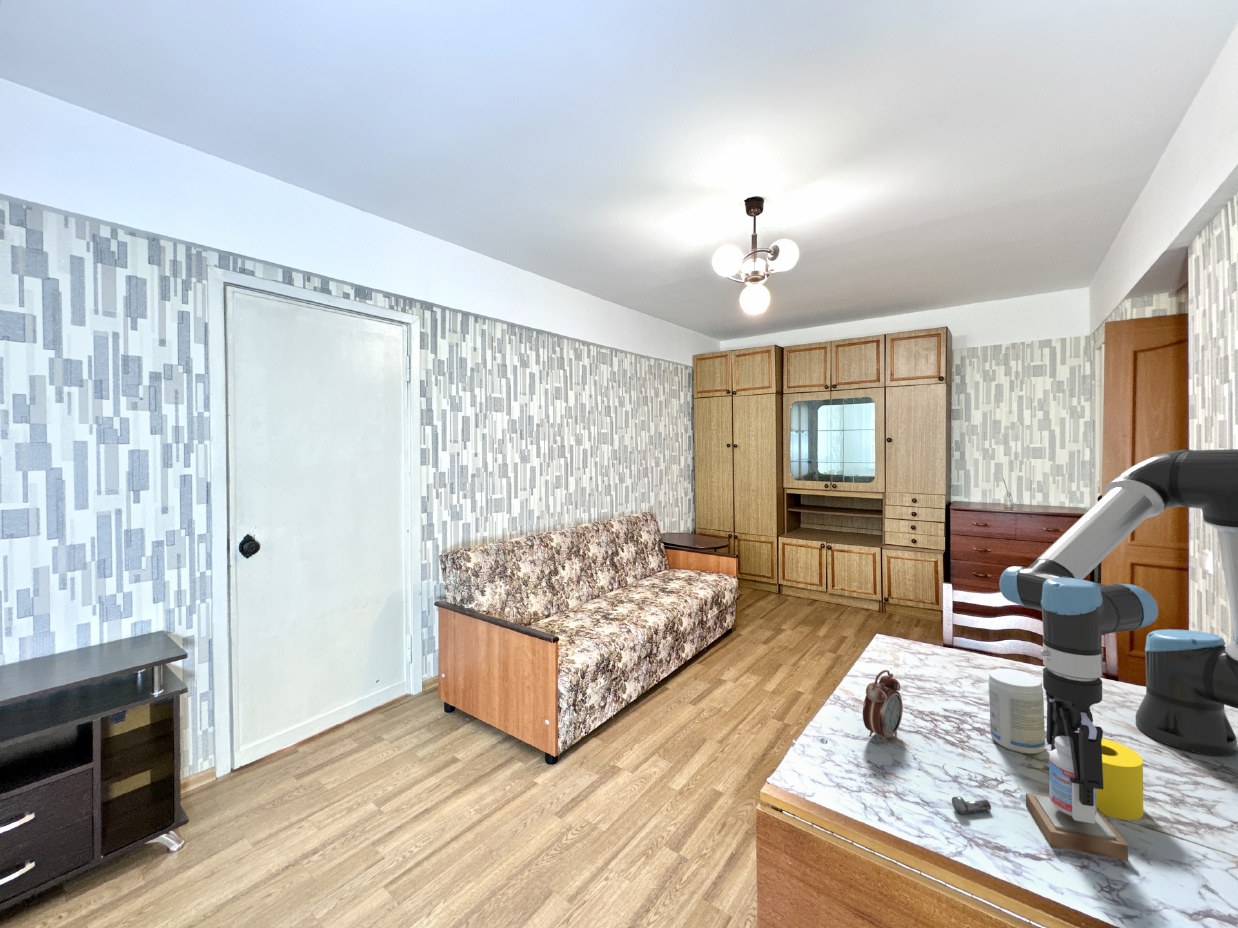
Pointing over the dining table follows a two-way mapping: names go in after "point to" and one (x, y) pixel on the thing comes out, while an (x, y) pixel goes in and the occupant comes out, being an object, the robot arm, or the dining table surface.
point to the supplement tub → (1017, 710)
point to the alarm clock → (883, 706)
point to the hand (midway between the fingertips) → (1073, 806)
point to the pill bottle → (1062, 775)
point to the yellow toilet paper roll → (1121, 782)
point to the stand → (1076, 830)
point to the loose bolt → (969, 805)
